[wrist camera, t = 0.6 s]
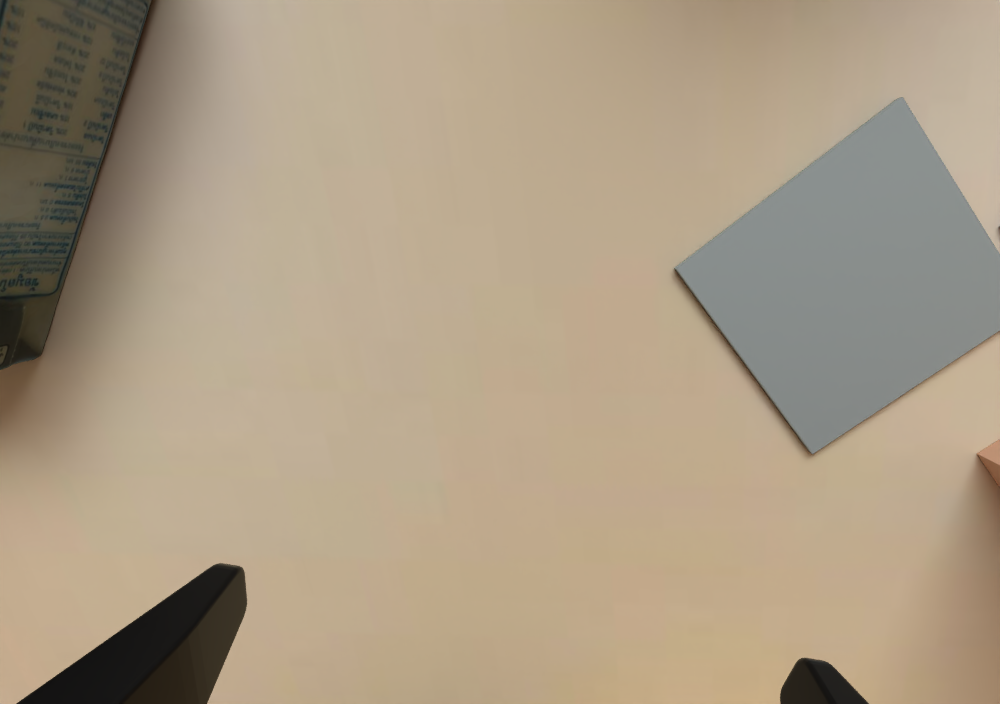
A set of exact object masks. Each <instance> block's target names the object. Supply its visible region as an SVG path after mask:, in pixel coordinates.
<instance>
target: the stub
mask: <svg viewBox="0 0 1000 704" xmlns="http://www.w3.org/2000/svg"><path fill="white" fill-rule="evenodd" d="M977 455H978V456H979V458H980V459H981V460H982V462H983V463H984V465H985V466H986V468H987V469H988V471H989V472H990V474H991V475H992V477H993V478H994V480H995V481H996V483H997V484H998V486H999V487H1000V440H998V441H996V442H995V443H993V444H992V445H990V446H988V447H987V448H985V449H984V450H982V451H980V452H979V453H977Z"/></svg>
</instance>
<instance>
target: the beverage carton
mask: <svg viewBox="0 0 1000 704" xmlns="http://www.w3.org/2000/svg"><path fill="white" fill-rule="evenodd" d="M150 3H151V0H0V370H1V369H4V368H7V367H9V366H11V365H13V364H16V363H20V362H24V361H29V360H33V359H35V358H37V357H39V356H40V355H41V354H42V350H43V347H44V344H45V341H46V338H47V335H48V331H49V328H50V325H51V321H52V318H53V315H54V312H55V308H56V305H57V302H58V299H59V295H60V292H61V289H62V286H63V283H64V281H65V278H66V275H67V272H68V269H69V266H70V263H71V260H72V257H73V254H74V251H75V248H76V245H77V242H78V238H79V235H80V231H81V228H82V224H83V221H84V217H85V214H86V211H87V208H88V204H89V201H90V198H91V195H92V192H93V188H94V185H95V182H96V179H97V175H98V172H99V169H100V166H101V163H102V160H103V157H104V154H105V151H106V148H107V145H108V141H109V138H110V135H111V131H112V128H113V125H114V121H115V118H116V114H117V111H118V107H119V103H120V100H121V97H122V94H123V92H124V89H125V86H126V82H127V78H128V75H129V72H130V68H131V65H132V62H133V59H134V56H135V52H136V49H137V46H138V43H139V39H140V36H141V33H142V29H143V26H144V23H145V20H146V16H147V13H148V10H149V6H150Z"/></svg>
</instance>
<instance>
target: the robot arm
mask: <svg viewBox="0 0 1000 704" xmlns="http://www.w3.org/2000/svg"><path fill="white" fill-rule="evenodd" d="M246 607H247V594H246V583H245V573H244V570H243V568H242V567H240V566H236V565H230V564H223V563H219V564H215V565H213V566H212V567H210V568H209V569H207V570H206V571H204V572H203V573H201V574H200V575H199V576H197V577H196V578H194V579H193V580H192V581H190V582H189V583H187V584H186V585H184V586H183V587H182V588H180V589H179V590H177V591H176V592H174V593H173V594H172V595H170V596H169V597H167V598H166V599H165V600H163V601H162V602H160V603H159V604H157V605H156V606H155V607H153V608H152V609H150V610H149V611H147V612H146V613H145V614H143V615H142V616H140V617H139V618H137V619H136V620H135V621H133V622H132V623H130V624H129V625H128V626H126V627H125V628H123V629H122V630H120V631H119V632H118V633H116V634H115V635H113V636H112V637H110V638H109V639H108V640H106V641H105V642H103V643H102V644H100V645H99V646H98V647H96V648H95V649H93V650H92V651H91V652H89V653H88V654H86V655H85V656H83V657H82V658H81V659H79V660H78V661H76V662H75V663H73V664H72V665H71V666H69V667H68V668H66V669H65V670H63V671H62V672H61V673H59V674H58V675H56V676H55V677H54V678H52V679H51V680H49V681H48V682H46V683H45V684H44V685H42V686H41V687H39V688H38V689H36V690H35V691H34V692H32V693H31V694H29V695H28V696H26V697H25V698H24V699H22V700H21V701H19V702H18V703H17V704H207V702H208V700H209V698H210V695H211V693H212V691H213V688H214V686H215V684H216V681H217V679H218V676H219V674H220V672H221V669H222V667H223V665H224V662H225V660H226V658H227V655H228V653H229V650H230V648H231V646H232V643H233V641H234V639H235V636H236V634H237V632H238V629H239V627H240V624H241V622H242V620H243V617H244V614H245V611H246ZM780 703H781V704H869V703H868V702H867V701H866V700H865V699H864V698H863V697H862V696H861V695H860V694H859V693H858V692H857V691H856V690H855V689H854V688H853V687H852V686H851V685H850V684H849V683H848V681H847V680H846V679H845V678H844V677H843V676H842V675H841V674H840V673H839V672H838V671H837V670H836V669H835V668H834V667H833V666H832V665H831V664H829V663H828V662H825V661H822V660H816V659H810V658H801V659H799V660H798V661H797V662H796V664H795V666H794V667H793V669H792V671H791V672H790V674H789V676H788V678H787V679H786V681H785V683H784V685H783V687H782V689H781V694H780Z"/></svg>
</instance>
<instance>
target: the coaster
mask: <svg viewBox="0 0 1000 704" xmlns="http://www.w3.org/2000/svg"><path fill="white" fill-rule="evenodd" d="M674 269H675V270H676V271H677V273H678V274H679V275H680V277H681V278H682V279H683V281H684V282H685V284H686V285H687V286H688V288H689V289H690V290H691V292H692V293H693V294H694V296H695V297H696V299H697V300H698V301H699V303H700V304H701V305H702V307H703V308H704V309H705V311H706V312H707V313H708V315H709V316H710V318H711V319H712V320H713V322H714V323H715V324H716V326H717V327H718V328H719V330H720V331H721V333H722V334H723V335H724V337H725V338H726V339H727V341H728V342H729V343H730V345H731V346H732V347H733V349H734V350H735V352H736V353H737V354H738V356H739V357H740V358H741V360H742V361H743V362H744V364H745V365H746V367H747V368H748V369H749V371H750V372H751V373H752V375H753V376H754V377H755V379H756V380H757V381H758V383H759V384H760V386H761V387H762V388H763V390H764V391H765V392H766V394H767V395H768V396H769V398H770V399H771V400H772V402H773V403H774V405H775V406H776V407H777V409H778V410H779V411H780V413H781V414H782V415H783V417H784V418H785V420H786V421H787V422H788V424H789V425H790V426H791V428H792V429H793V430H794V432H795V433H796V434H797V436H798V437H799V439H800V440H801V441H802V443H803V444H804V445H805V447H806V448H807V449H808V451H809V452H810V453H812V454H814V453H815V452H817V451H818V450H820V449H821V448H823V447H824V446H826V445H827V444H829V443H830V442H832V441H833V440H835V439H836V438H838V437H839V436H841V435H842V434H844V433H845V432H847V431H848V430H850V429H851V428H853V427H854V426H856V425H857V424H859V423H860V422H862V421H864V420H865V419H867V418H868V417H870V416H871V415H873V414H874V413H876V412H877V411H879V410H880V409H882V408H883V407H885V406H886V405H888V404H889V403H891V402H892V401H894V400H895V399H897V398H898V397H900V396H901V395H903V394H904V393H906V392H907V391H909V390H910V389H912V388H913V387H915V386H916V385H918V384H919V383H921V382H922V381H924V380H926V379H927V378H929V377H930V376H932V375H933V374H935V373H936V372H938V371H939V370H941V369H942V368H944V367H945V366H947V365H948V364H950V363H951V362H953V361H954V360H956V359H957V358H959V357H960V356H962V355H963V354H965V353H966V352H968V351H969V350H971V349H972V348H974V347H975V346H977V345H978V344H980V343H981V342H983V341H985V340H986V339H988V338H989V337H991V336H992V335H994V334H995V333H997V332H998V331H1000V254H999V252H998V251H997V249H996V247H995V246H994V244H993V243H992V241H991V239H990V238H989V236H988V234H987V233H986V231H985V230H984V228H983V226H982V225H981V223H980V221H979V220H978V218H977V217H976V215H975V213H974V212H973V210H972V209H971V207H970V205H969V204H968V202H967V200H966V199H965V197H964V196H963V194H962V192H961V191H960V189H959V187H958V186H957V184H956V183H955V181H954V179H953V178H952V176H951V175H950V173H949V171H948V170H947V168H946V166H945V165H944V163H943V162H942V160H941V158H940V157H939V155H938V153H937V152H936V150H935V149H934V147H933V145H932V144H931V142H930V141H929V139H928V137H927V136H926V134H925V132H924V131H923V129H922V128H921V126H920V124H919V123H918V121H917V119H916V118H915V116H914V115H913V113H912V111H911V110H910V108H909V107H908V105H907V103H906V102H905V100H904V98H903V97H901V98H898V99H896V100H895V101H894V102H892V103H891V104H890V105H888V106H887V107H886V108H884V109H883V110H882V111H880V112H879V113H878V114H876V115H875V116H874V117H872V118H871V119H870V120H869V121H867V122H866V123H865V124H863V125H862V126H861V127H859V128H858V129H857V130H855V131H854V132H853V133H851V134H850V135H849V136H847V137H846V138H845V139H844V140H842V141H841V142H840V143H838V144H837V145H836V146H834V147H833V148H832V149H830V150H829V151H828V152H826V153H825V154H824V155H822V156H821V157H820V158H819V159H817V160H816V161H815V162H813V163H812V164H811V165H809V166H808V167H807V168H805V169H804V170H803V171H801V172H800V173H799V174H798V175H796V176H795V177H794V178H792V179H791V180H790V181H788V182H787V183H786V184H784V185H783V186H782V187H780V188H779V189H778V190H776V191H775V192H774V193H773V194H771V195H770V196H769V197H767V198H766V199H765V200H763V201H762V202H761V203H759V204H758V205H757V206H755V207H754V208H753V209H751V210H750V211H749V212H748V213H746V214H745V215H744V216H742V217H741V218H740V219H738V220H737V221H736V222H734V223H733V224H732V225H730V226H729V227H728V228H726V229H725V230H724V231H723V232H721V233H720V234H719V235H717V236H716V237H715V238H713V239H712V240H711V241H709V242H708V243H707V244H705V245H704V246H703V247H701V248H700V249H699V250H698V251H696V252H695V253H694V254H692V255H691V256H690V257H688V258H687V259H686V260H684V261H683V262H682V263H680V264H679V265H678V266H676V267H675V268H674Z"/></svg>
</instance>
